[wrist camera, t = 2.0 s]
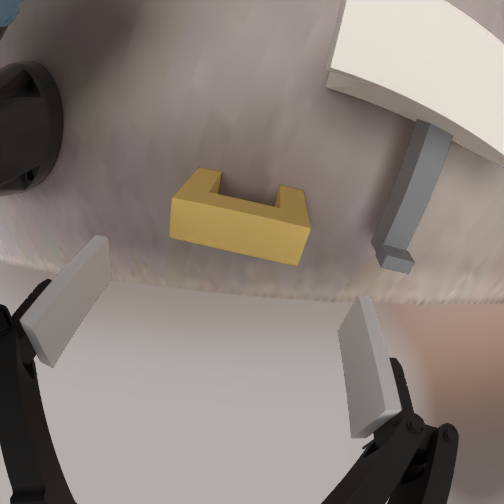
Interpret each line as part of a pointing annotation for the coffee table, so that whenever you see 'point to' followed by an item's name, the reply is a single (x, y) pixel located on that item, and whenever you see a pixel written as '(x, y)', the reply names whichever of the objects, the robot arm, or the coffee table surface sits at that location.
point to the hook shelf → (420, 96)
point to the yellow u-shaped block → (240, 220)
